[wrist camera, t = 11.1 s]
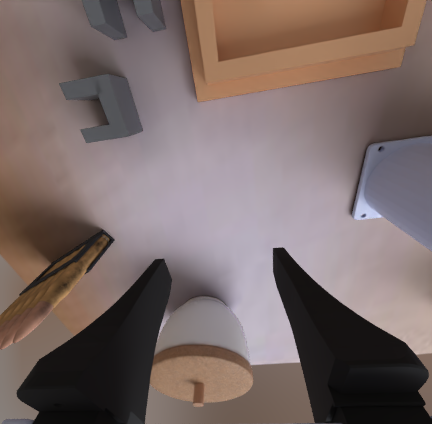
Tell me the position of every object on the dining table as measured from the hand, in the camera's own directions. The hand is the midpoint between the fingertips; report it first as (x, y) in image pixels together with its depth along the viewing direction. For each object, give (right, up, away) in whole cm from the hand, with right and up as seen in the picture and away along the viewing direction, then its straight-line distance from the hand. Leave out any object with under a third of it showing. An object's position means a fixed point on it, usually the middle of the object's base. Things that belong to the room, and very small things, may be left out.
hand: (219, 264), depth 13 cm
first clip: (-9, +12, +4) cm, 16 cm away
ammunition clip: (-18, -2, +13) cm, 22 cm away
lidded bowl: (-2, -12, +18) cm, 22 cm away
